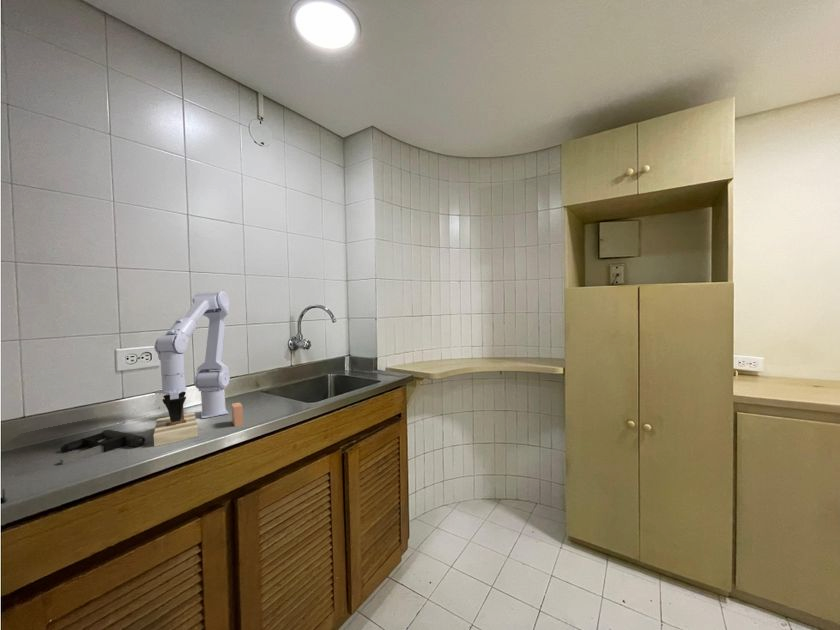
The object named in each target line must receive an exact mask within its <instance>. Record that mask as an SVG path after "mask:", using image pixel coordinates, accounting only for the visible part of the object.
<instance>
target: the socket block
mask: <svg viewBox="0 0 840 630" xmlns="http://www.w3.org/2000/svg"><path fill="white" fill-rule="evenodd" d="M198 428H199V427H198V423H197V419H196V414H195V412H189V413H184V423H181V424H176V425H171V426H170V416H166V417H162V418H157V419H156V421H155V427H154V432H153V446H154V447H157V446H161V445H162V446H163V445H167V444H171V443H176V442H181V441H184V440H185V441H186V440H190V439H195V438H198V437H199V429H198Z"/></svg>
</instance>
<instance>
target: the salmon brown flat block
mask: <svg viewBox="0 0 840 630" xmlns="http://www.w3.org/2000/svg"><path fill="white" fill-rule="evenodd" d="M243 407H244V406H243V405H242V403H241V402H234V403H233V402H232V403H231V420H232V421H231V422H232V424H233V426H234V427H238V426H243V425H244V408H243Z"/></svg>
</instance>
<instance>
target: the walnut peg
mask: <svg viewBox="0 0 840 630" xmlns="http://www.w3.org/2000/svg"><path fill="white" fill-rule="evenodd" d="M184 414H185V412H184V406H183V407H182V414H181V420H180V421H176V422H171V419H170V426H171V425H176V424H181V423H184Z"/></svg>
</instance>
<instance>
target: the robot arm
mask: <svg viewBox="0 0 840 630" xmlns="http://www.w3.org/2000/svg"><path fill="white" fill-rule="evenodd" d="M191 298H192V300H191V301H192V305H191V307H190V308H189V309H188V311H187V312H186V315H184V316H183V317H180V318H177V319H175V322H174V324H173V325H172V327H170V328H169V330H168V331H167V332H166V333H165V334H164V335H160V336H159V337H158V338H157V339H156V340H155V344H154V345H153V347H154V351H155V353H157V358H158V360H159V361H160V371H161V388H162V389H161V390H157V394H158V395H159V394H164V395H162V396H163V399H162V403H163V404H164V406H165V407H166V409H167V412H168V415H169V416H168V417H170V419H171V422H176V421H180V420H181V414H182V407H183V408H184V403H185V401H186V399H187V396H186V390H187V386H186V374H185V373H186V372H185V371H186V370H185V357H184V356H185V355H184V353H185V352H186V351H187V349H188V347H189V342H190V337H191V336H192V335H193V334H194V332H195V331H196V330H197V322H198V321H199V319H200V318H201V317H202V316H203V317H207V318H208V319H209V321H208V330H207V339H206V346H205V347H206V349H205V358H204V362H203V363H202V364H200V365H199V366H198V367H196V374H195V375H194V379H193V384H194V386H195V387H196V389H198V392H200V398H201V399H200V400H201V411H200V412H199V414H200V417H201V419H207V418H212V417H218V416H223V415H224V416H225V415H227V414H229V411H228V409H226V394H225V392H226V391H225V389H226V388H227V387H228V385H229V383H230V380H231V379H230V378H231V377H230V373H229V372H230V371H229V369H230V368H229V366H227V365H226V364H225V363H223V362H222V361H223V352H224V340H225V332H226V321H227V316H228V315H229V310H230V298H229V296H228V294H227V293H226V292H225V291H224V290H220V291H208V292H206V291H205V292H196V293H195V294H194V295H193V297H191Z"/></svg>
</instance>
